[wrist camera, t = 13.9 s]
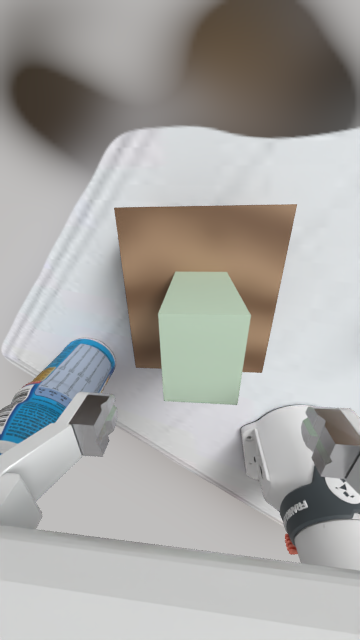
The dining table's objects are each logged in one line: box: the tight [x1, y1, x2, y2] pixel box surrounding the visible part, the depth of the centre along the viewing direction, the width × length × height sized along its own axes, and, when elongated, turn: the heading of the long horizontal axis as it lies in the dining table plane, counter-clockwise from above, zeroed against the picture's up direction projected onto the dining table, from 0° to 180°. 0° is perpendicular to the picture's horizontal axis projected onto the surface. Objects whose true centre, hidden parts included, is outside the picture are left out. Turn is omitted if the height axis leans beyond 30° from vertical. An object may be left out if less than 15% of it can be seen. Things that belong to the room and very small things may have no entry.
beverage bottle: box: [0, 338, 115, 455], centre depth 25 cm, size 8×8×20 cm
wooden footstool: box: [114, 204, 297, 373], centre depth 23 cm, size 16×14×8 cm
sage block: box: [158, 272, 251, 405], centre depth 15 cm, size 4×6×9 cm
